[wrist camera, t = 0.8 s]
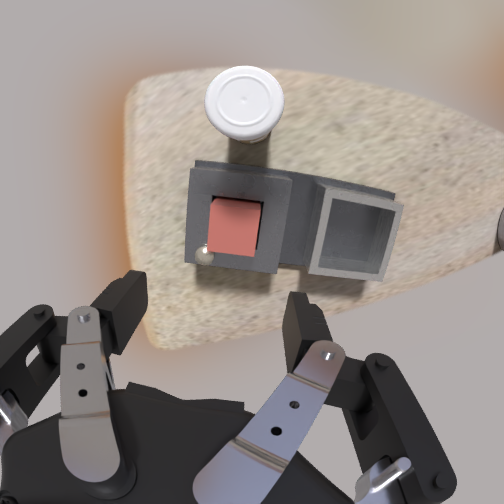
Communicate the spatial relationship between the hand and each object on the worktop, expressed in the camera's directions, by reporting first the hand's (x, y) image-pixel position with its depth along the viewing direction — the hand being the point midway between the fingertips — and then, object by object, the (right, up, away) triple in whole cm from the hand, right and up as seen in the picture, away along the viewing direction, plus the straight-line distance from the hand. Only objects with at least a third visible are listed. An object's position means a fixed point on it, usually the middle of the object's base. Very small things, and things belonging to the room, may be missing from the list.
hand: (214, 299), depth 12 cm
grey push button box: (+6, +6, +17) cm, 19 cm away
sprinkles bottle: (+2, +15, +13) cm, 21 cm away
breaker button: (0, +6, +14) cm, 15 cm away
